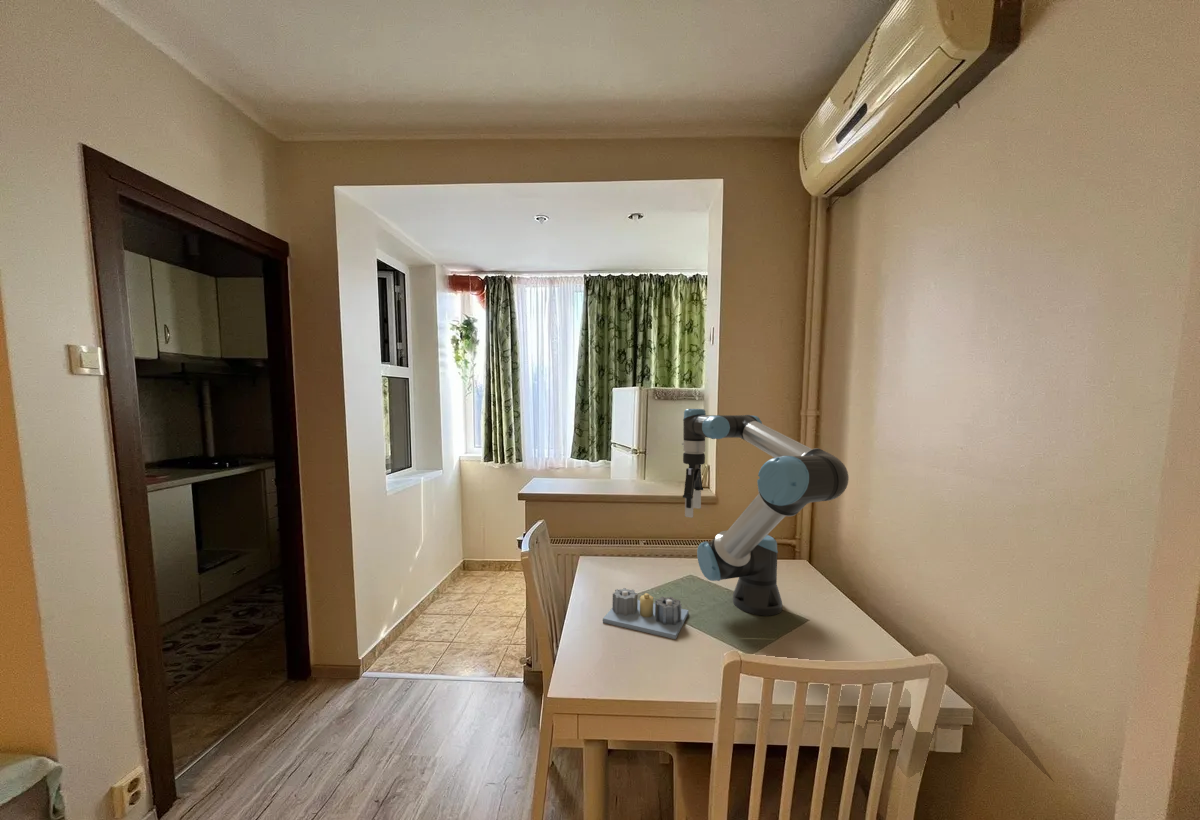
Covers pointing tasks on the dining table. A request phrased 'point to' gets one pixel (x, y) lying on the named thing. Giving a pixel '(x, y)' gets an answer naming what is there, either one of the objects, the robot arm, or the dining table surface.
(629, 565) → the dining table surface
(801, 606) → the dining table surface
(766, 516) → the robot arm
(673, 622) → the gear
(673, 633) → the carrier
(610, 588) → the dining table surface
